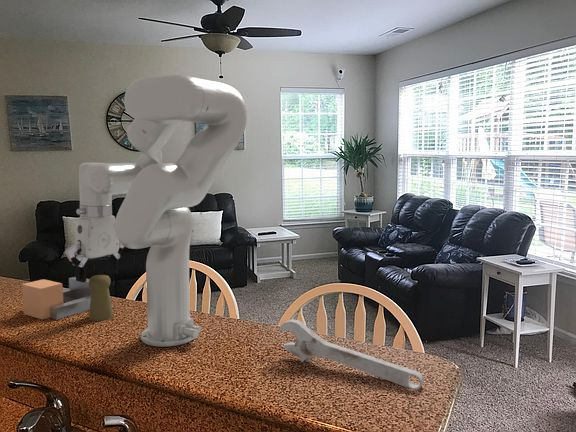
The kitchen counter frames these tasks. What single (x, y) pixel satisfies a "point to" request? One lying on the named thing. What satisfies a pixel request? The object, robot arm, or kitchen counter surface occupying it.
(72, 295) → the u-shaped metal bracket
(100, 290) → the cork
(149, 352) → the kitchen counter surface
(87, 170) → the robot arm
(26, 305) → the block
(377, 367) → the wrench
